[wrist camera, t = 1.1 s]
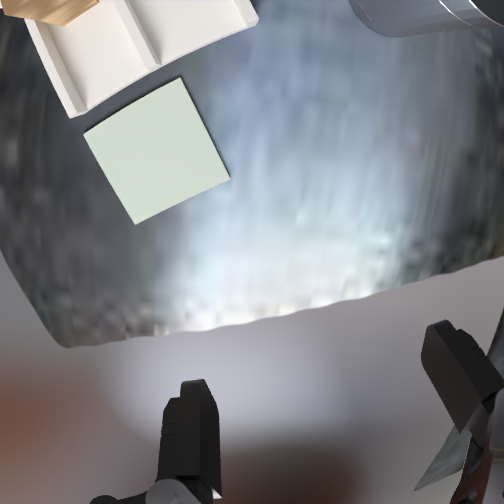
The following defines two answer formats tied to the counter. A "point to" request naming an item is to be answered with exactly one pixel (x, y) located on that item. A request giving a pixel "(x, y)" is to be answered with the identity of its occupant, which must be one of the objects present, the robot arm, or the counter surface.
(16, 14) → the oak block
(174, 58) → the tray
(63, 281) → the counter surface
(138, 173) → the sage mat
